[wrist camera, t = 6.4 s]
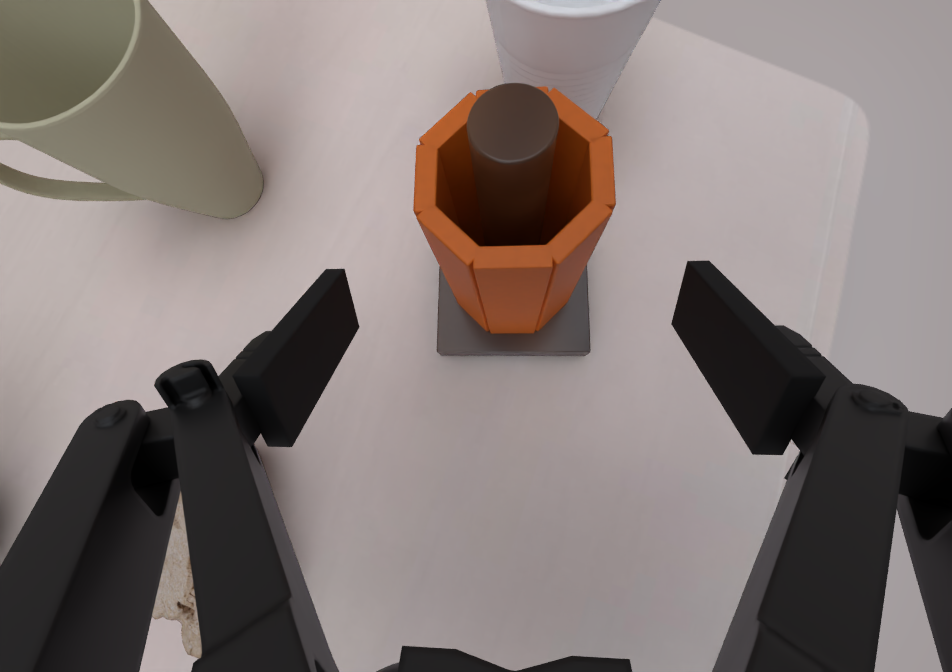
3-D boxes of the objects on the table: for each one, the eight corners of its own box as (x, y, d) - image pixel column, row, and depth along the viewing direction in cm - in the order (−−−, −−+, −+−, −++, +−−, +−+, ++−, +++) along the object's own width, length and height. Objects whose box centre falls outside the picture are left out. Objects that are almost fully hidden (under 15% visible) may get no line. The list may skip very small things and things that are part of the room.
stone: (275, 429, 25) (219, 434, 21) (304, 627, 23) (248, 684, 18) (144, 464, 26) (59, 476, 21) (160, 662, 24) (69, 726, 19)
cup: (658, 109, 27) (754, -87, 17) (547, 199, 27) (571, 56, 16) (560, 22, 29) (589, -203, 19) (455, 104, 29) (421, -79, 18)
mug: (201, 114, 31) (8, -71, 19) (312, 154, 29) (177, -21, 17) (127, 240, 29) (-133, 124, 17) (240, 289, 28) (38, 198, 16)
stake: (580, 219, 26) (666, -23, 12) (585, 355, 25) (694, 271, 10) (444, 223, 27) (366, 0, 13) (440, 355, 26) (345, 276, 11)
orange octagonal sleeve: (567, 225, 25) (609, 81, 14) (570, 333, 24) (620, 266, 13) (457, 228, 25) (418, 92, 15) (455, 333, 24) (410, 270, 13)
